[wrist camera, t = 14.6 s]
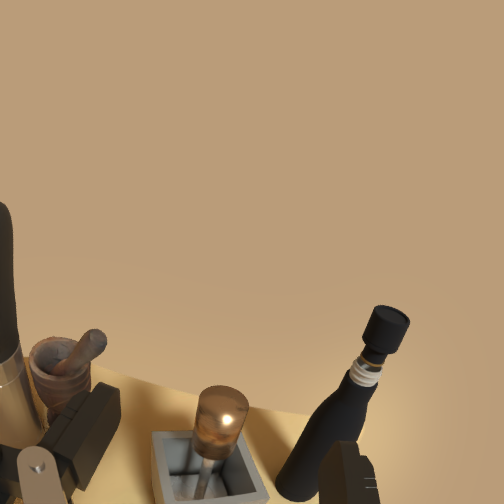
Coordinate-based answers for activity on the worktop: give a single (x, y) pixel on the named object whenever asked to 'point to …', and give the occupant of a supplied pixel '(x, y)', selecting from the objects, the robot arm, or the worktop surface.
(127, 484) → the worktop surface
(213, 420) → the plunger
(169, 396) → the worktop surface
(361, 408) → the black water bottle
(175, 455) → the grey open box
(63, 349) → the mortar and pestle
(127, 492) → the worktop surface
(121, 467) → the worktop surface
